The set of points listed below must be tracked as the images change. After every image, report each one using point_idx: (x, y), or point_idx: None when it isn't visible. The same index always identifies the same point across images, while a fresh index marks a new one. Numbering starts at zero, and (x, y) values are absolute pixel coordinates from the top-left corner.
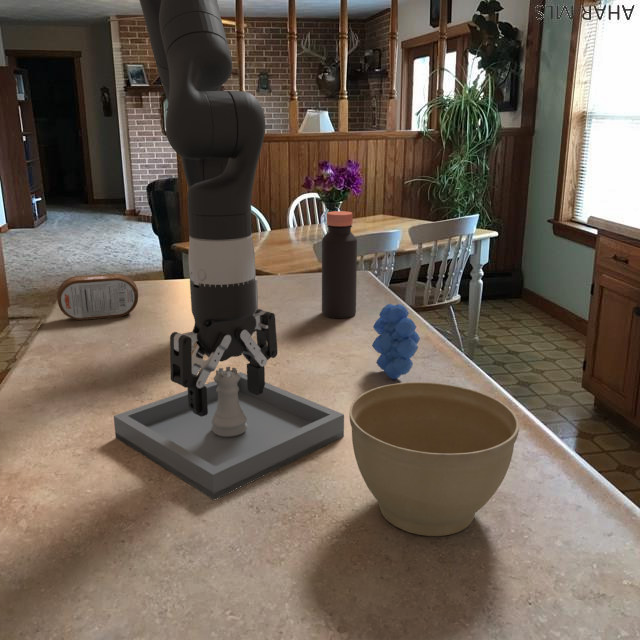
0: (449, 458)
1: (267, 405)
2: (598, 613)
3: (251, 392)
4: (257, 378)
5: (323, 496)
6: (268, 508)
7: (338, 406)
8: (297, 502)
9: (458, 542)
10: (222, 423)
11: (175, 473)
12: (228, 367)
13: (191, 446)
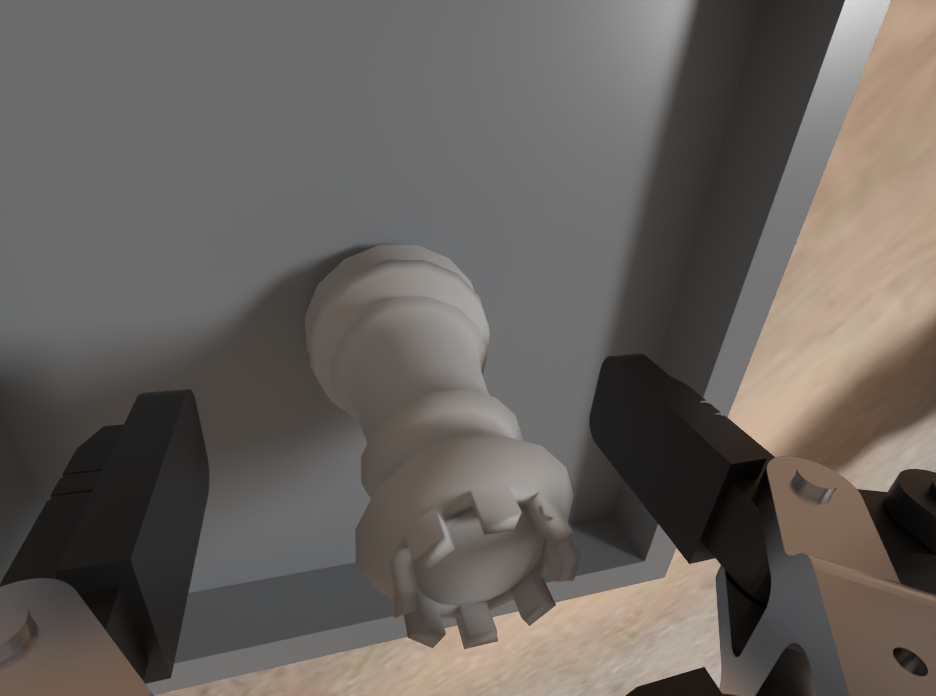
0: None
1: (681, 234)
2: None
3: (599, 379)
4: (646, 497)
5: (349, 686)
6: (196, 687)
7: (791, 372)
8: (280, 687)
9: None
10: (332, 394)
11: None
12: (555, 537)
13: (143, 333)
